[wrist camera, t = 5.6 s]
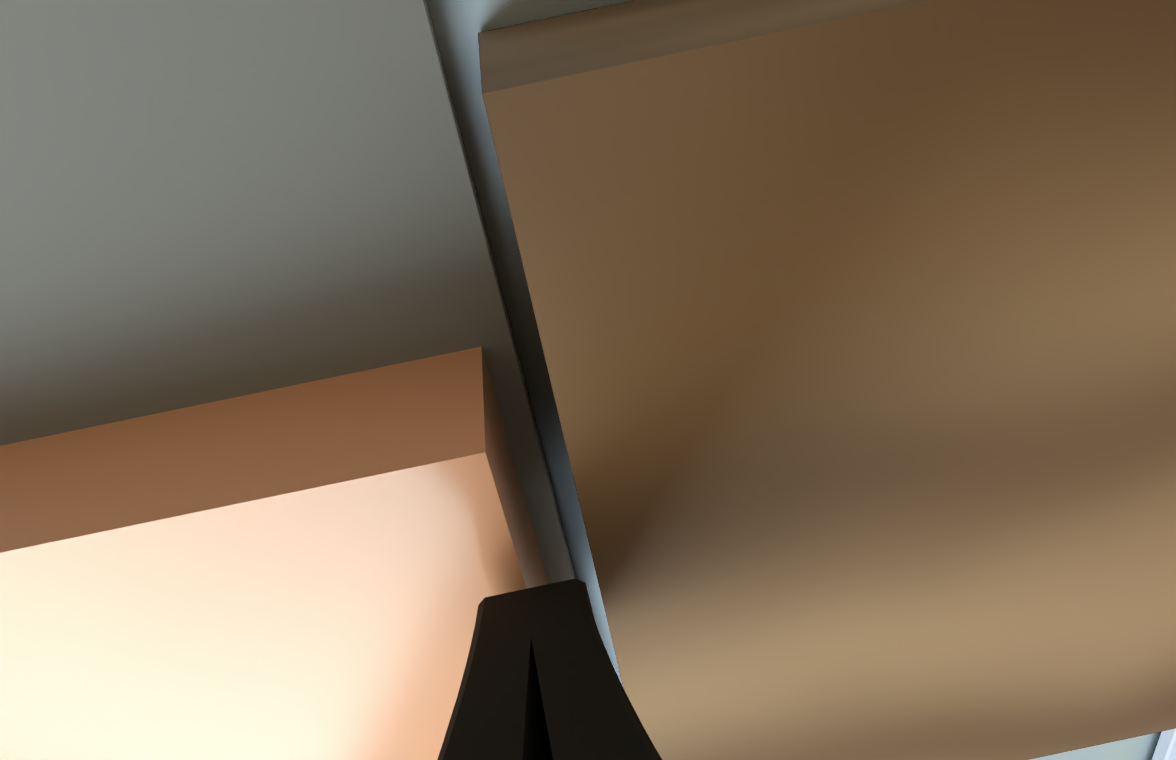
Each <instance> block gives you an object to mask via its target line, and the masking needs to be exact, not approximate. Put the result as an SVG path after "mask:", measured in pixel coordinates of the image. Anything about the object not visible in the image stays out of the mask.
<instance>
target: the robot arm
mask: <svg viewBox="0 0 1176 760" xmlns="http://www.w3.org/2000/svg"><path fill="white" fill-rule="evenodd" d="M437 760H662V758H661V757H660V755H659V753H658V752H657V750H656V748H655V747H654V745H653V743H652V741H651V739H650V738H649V736H648V734H647V732H646V730H645V729H644V727H643V725H642V723H641V721H640V719H639V717H638V716H637V714H636V712H635V710H634V708H633V706H632V704H631V702H630V700H629V698H628V696H627V694H626V692H625V690H624V688H623V687H622V685H621V683H620V680H619V678H618V676H617V674H616V672H615V670H614V668H613V666H612V663H611V661H610V659H609V656H608V654H607V651H606V649H605V647H604V644H603V642H602V640H601V637H600V634H599V632H598V629H597V626H596V623H595V620H594V616H593V612H592V608H591V604H590V600H589V596H588V592H587V587H586V583H584V582H582V581H580V580H578V579H576V578H575V579H570V580H565V581H561V582H556V583H551V584H546V585H542V586H537V587H532V588H527V589H523V590H518V591H513V592H508V593H504V594H499V595H494V596H489V597H485V598H484V599H483V600H482V601H481V602H480V604H479V605H478V610H477V616H476V622H475V627H474V632H473V637H472V641H471V646H470V650H469V654H468V658H467V662H466V666H465V670H464V674H463V677H462V681H461V685H460V688H459V692H458V696H457V699H456V702H455V706H454V709H453V712H452V715H451V718H450V721H449V725H448V728H447V731H446V734H445V737H444V741H443V744H442V747H441V750H440V753H439V756H438V759H437ZM1152 760H1176V729H1171V730H1166V731H1162V732H1161V735H1160V738H1159V741H1158V743H1157V746H1156V749H1155V752H1154V755H1153V758H1152Z"/></svg>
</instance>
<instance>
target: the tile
mask: <svg viewBox="0 0 1176 760" xmlns="http://www.w3.org/2000/svg"><path fill="white" fill-rule="evenodd" d="M546 584H548V582H547V578H546V574H545V571H544V567H543V564H542V560H541V557H540V553H539V550H538V546H537V542H536V539H535V535H534V532H533V528H532V525H531V521H530V518H529V514H528V510H527V507H526V503H525V500H524V496H523V493H522V489H521V486H520V482H519V478H518V475H517V471H516V468H515V464H514V461H513V457H512V453H511V450H510V446H509V443H508V439H507V436H506V432H505V429H504V425H503V421H502V418H501V414H500V411H499V407H498V404H497V400H496V397H495V393H494V389H493V386H492V382H491V379H490V375H489V372H488V368H487V364H486V361H485V357H484V354H483V350H482V347H477V348H472V349H467V350H462V351H457V352H452V353H448V354H443V355H438V356H433V357H428V358H423V359H418V360H414V361H409V362H404V363H399V364H394V365H389V366H385V367H380V368H375V369H370V370H365V371H360V372H355V373H351V374H346V375H341V376H336V377H331V378H326V379H322V380H317V381H312V382H307V383H302V384H297V385H292V386H288V387H283V388H278V389H273V390H268V391H263V392H259V393H254V394H249V395H244V396H239V397H234V398H229V399H225V400H220V401H215V402H210V403H205V404H200V405H195V406H191V407H186V408H181V409H176V410H171V411H166V412H162V413H157V414H152V415H147V416H142V417H137V418H132V419H128V420H123V421H118V422H113V423H108V424H103V425H99V426H94V427H89V428H84V429H79V430H74V431H69V432H65V433H60V434H55V435H50V436H45V437H40V438H36V439H31V440H26V441H21V442H16V443H11V444H6V445H2V446H0V760H437V759H438V756H439V753H440V750H441V747H442V744H443V741H444V737H445V734H446V731H447V728H448V725H449V721H450V718H451V715H452V712H453V709H454V706H455V702H456V699H457V696H458V692H459V688H460V685H461V681H462V677H463V674H464V670H465V666H466V662H467V658H468V654H469V650H470V646H471V641H472V637H473V632H474V627H475V622H476V616H477V610H478V605H479V604H480V602H481V601H482V600H483V599H484V598H485V597H489V596H494V595H499V594H504V593H508V592H513V591H518V590H523V589H527V588H532V587H537V586H542V585H546Z"/></svg>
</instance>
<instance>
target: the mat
mask: <svg viewBox="0 0 1176 760" xmlns="http://www.w3.org/2000/svg"><path fill="white" fill-rule="evenodd" d="M477 347H482V350H483V354H484V357H485V361H486V364H487V368H488V372H489V375H490V379H491V382H492V386H493V389H494V393H495V397H496V400H497V404H498V407H499V411H500V414H501V418H502V421H503V425H504V429H505V432H506V436H507V439H508V443H509V446H510V450H511V453H512V457H513V461H514V464H515V468H516V471H517V475H518V478H519V482H520V486H521V489H522V493H523V496H524V500H525V503H526V507H527V510H528V514H529V518H530V521H531V525H532V528H533V532H534V535H535V539H536V542H537V546H538V550H539V553H540V557H541V560H542V564H543V567H544V571H545V574H546V578H547V582H548V584H551V583H556V582H561V581H565V580H570V579H575V574H574V570H573V566H572V562H571V559H570V555H569V551H568V547H567V543H566V539H565V535H564V531H563V528H562V524H561V520H560V516H559V512H558V508H557V504H556V501H555V497H554V493H553V489H552V485H551V481H550V477H549V473H548V470H547V466H546V462H545V458H544V454H543V450H542V446H541V443H540V439H539V435H538V431H537V427H536V423H535V419H534V416H533V412H532V408H531V404H530V400H529V396H528V392H527V388H526V385H525V381H524V377H523V373H522V369H521V365H520V361H519V358H518V354H517V350H516V346H515V342H514V338H513V334H512V330H511V327H510V323H509V319H508V315H507V311H506V307H505V303H504V300H503V296H502V292H501V288H500V284H499V280H498V276H497V273H496V269H495V265H494V261H493V257H492V253H491V249H490V245H489V242H488V238H487V234H486V230H485V226H484V222H483V218H482V215H481V211H480V207H479V203H478V199H477V195H476V191H475V187H474V184H473V180H472V176H471V172H470V168H469V164H468V160H467V157H466V153H465V149H464V145H463V141H462V137H461V133H460V129H459V126H458V122H457V118H456V114H455V110H454V106H453V102H452V99H451V95H450V91H449V87H448V83H447V79H446V75H445V72H444V68H443V64H442V60H441V56H440V52H439V48H438V44H437V41H436V37H435V33H434V29H433V25H432V21H431V17H430V14H429V10H428V6H427V2H426V0H0V446H2V445H6V444H11V443H16V442H21V441H26V440H31V439H36V438H40V437H45V436H50V435H55V434H60V433H65V432H69V431H74V430H79V429H84V428H89V427H94V426H99V425H103V424H108V423H113V422H118V421H123V420H128V419H132V418H137V417H142V416H147V415H152V414H157V413H162V412H166V411H171V410H176V409H181V408H186V407H191V406H195V405H200V404H205V403H210V402H215V401H220V400H225V399H229V398H234V397H239V396H244V395H249V394H254V393H259V392H263V391H268V390H273V389H278V388H283V387H288V386H292V385H297V384H302V383H307V382H312V381H317V380H322V379H326V378H331V377H336V376H341V375H346V374H351V373H355V372H360V371H365V370H370V369H375V368H380V367H385V366H389V365H394V364H399V363H404V362H409V361H414V360H418V359H423V358H428V357H433V356H438V355H443V354H448V353H452V352H457V351H462V350H467V349H472V348H477Z"/></svg>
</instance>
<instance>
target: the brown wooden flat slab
mask: <svg viewBox="0 0 1176 760" xmlns="http://www.w3.org/2000/svg"><path fill="white" fill-rule="evenodd" d="M478 42H479V56H480V71H481V85H482V95H483V100H484V104H485V108H486V112H487V116H488V121H489V125H490V129H491V133H492V137H493V142H494V146H495V150H496V154H497V158H498V163H499V167H500V171H501V175H502V179H503V184H504V188H505V192H506V196H507V200H508V205H509V209H510V213H511V217H512V221H513V226H514V230H515V234H516V238H517V242H518V247H519V251H520V255H521V259H522V263H523V268H524V272H525V276H526V280H527V284H528V289H529V293H530V297H531V301H532V306H533V310H534V314H535V318H536V322H537V327H538V331H539V335H540V339H541V343H542V348H543V352H544V356H545V360H546V364H547V369H548V373H549V377H550V381H551V385H552V390H553V394H554V398H555V402H556V406H557V411H558V415H559V419H560V423H561V427H562V432H563V436H564V440H565V444H566V448H567V453H568V457H569V461H570V465H571V469H572V474H573V478H574V482H575V486H576V490H577V495H578V499H579V503H580V507H581V511H582V516H583V520H584V524H585V528H586V532H587V537H588V541H589V545H590V549H591V554H592V558H593V562H594V566H595V570H596V575H597V579H598V583H599V587H600V591H601V596H602V600H603V604H604V608H605V612H606V617H607V621H608V625H609V629H610V633H611V638H612V642H613V646H614V650H615V654H616V659H617V663H618V667H619V671H620V675H621V680H622V684H623V688H624V690H625V692H626V694H627V696H628V698H629V700H630V702H631V704H632V706H633V708H634V710H635V712H636V714H637V716H638V717H639V719H640V721H641V723H642V725H643V727H644V729H645V730H646V732H647V734H648V736H649V738H650V739H651V741H652V743H653V745H654V747H655V748H656V750H657V752H658V753H659V755H660V757H661V758H662V760H1029V759H1034V758H1038V757H1043V756H1048V755H1053V754H1057V753H1062V752H1067V751H1072V750H1076V749H1081V748H1086V747H1090V746H1095V745H1100V744H1105V743H1109V742H1114V741H1119V740H1124V739H1128V738H1133V737H1138V736H1143V735H1147V734H1152V733H1157V732H1161V731H1166V730H1171V729H1176V0H634V1H630V2H625V3H620V4H615V5H610V6H606V7H601V8H596V9H591V10H586V11H582V12H577V13H572V14H567V15H562V16H558V17H553V18H548V19H543V20H538V21H534V22H529V23H524V24H519V25H514V26H510V27H505V28H500V29H495V30H490V31H486V32H481V33H478Z"/></svg>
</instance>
